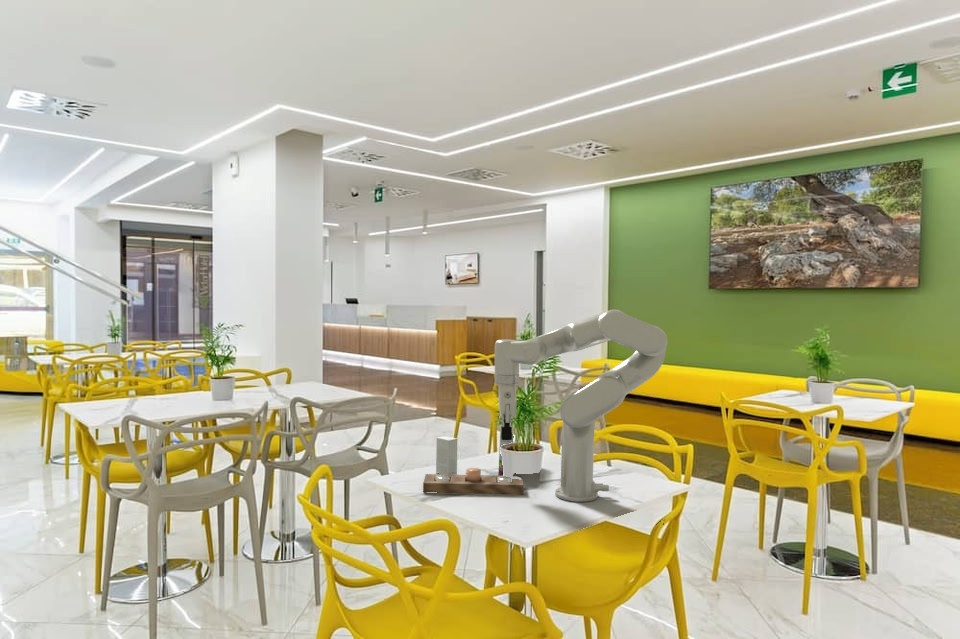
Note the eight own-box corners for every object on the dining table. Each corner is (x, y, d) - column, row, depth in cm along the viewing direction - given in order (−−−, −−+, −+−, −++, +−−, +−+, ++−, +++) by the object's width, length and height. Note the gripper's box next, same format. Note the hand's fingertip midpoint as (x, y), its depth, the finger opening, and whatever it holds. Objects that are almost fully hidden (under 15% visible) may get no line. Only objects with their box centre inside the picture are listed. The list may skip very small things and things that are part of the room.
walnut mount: (520, 485, 204) (521, 475, 204) (523, 494, 194) (523, 484, 194) (425, 483, 204) (425, 474, 203) (423, 492, 194) (423, 483, 193)
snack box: (514, 477, 213) (515, 432, 212) (497, 476, 214) (498, 431, 213) (523, 462, 234) (524, 420, 233) (507, 461, 235) (508, 419, 234)
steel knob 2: (510, 487, 201) (511, 476, 201) (511, 491, 197) (511, 480, 196) (496, 487, 201) (496, 476, 201) (497, 491, 197) (497, 480, 196)
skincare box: (457, 474, 215) (458, 438, 215) (448, 476, 212) (449, 440, 212) (444, 470, 219) (444, 435, 219) (435, 473, 216) (436, 437, 216)
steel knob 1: (449, 486, 201) (449, 475, 201) (449, 490, 196) (449, 479, 196) (435, 486, 201) (435, 475, 201) (434, 490, 196) (434, 479, 196)
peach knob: (480, 478, 201) (480, 467, 201) (480, 482, 196) (480, 471, 196) (466, 478, 201) (466, 467, 201) (466, 482, 196) (466, 471, 196)
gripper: (520, 383, 190) (520, 445, 191) (517, 377, 205) (517, 434, 206) (495, 382, 190) (495, 445, 191) (493, 377, 205) (493, 434, 206)
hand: (506, 439), depth 198 cm, fingers closed
